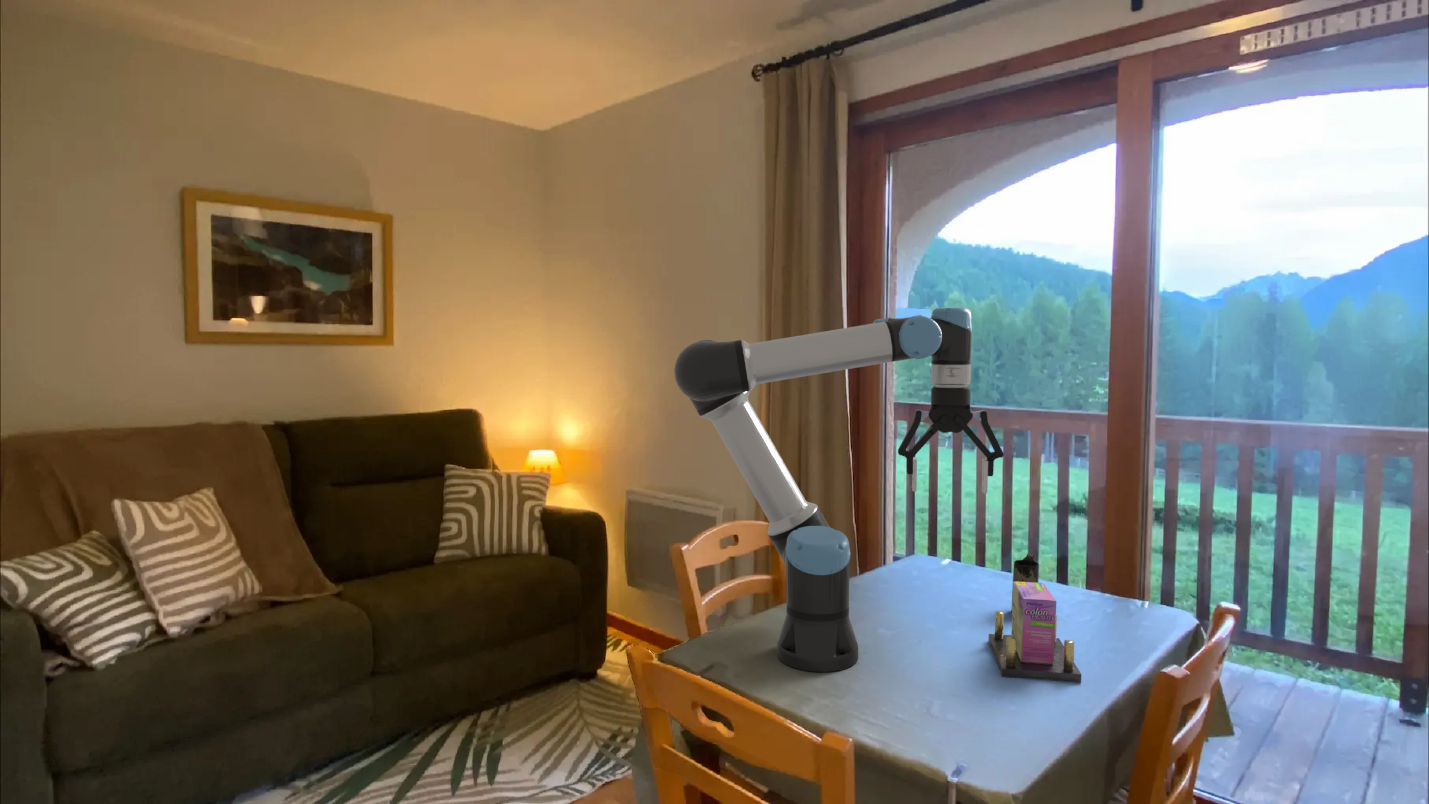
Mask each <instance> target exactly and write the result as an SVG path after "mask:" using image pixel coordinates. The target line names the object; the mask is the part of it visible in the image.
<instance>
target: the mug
mask: <svg viewBox="0 0 1429 804" xmlns="http://www.w3.org/2000/svg"><path fill="white" fill-rule="evenodd" d="M1039 566H1040V564H1039V562H1037V561H1035V555H1034V554H1029V553H1028V554H1026V555H1025V557H1024V558H1023V559H1017V560H1014V561H1013V571H1012V573H1013V574H1012V583H1013V582H1035V583H1039V570H1040V567H1039ZM1011 591H1012V594H1011V603H1012V602H1013V587H1012V590H1011Z"/></svg>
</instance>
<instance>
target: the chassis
mask: <svg viewBox="0 0 1429 804" xmlns="http://www.w3.org/2000/svg"><path fill="white" fill-rule="evenodd" d="M1057 620H1058V616H1057V614H1056V621H1055V641H1054V664H1036V663H1025V662H1021V660H1020V658H1019V656H1018V654H1017V651H1016V638H1015V637H1012V636H1011V634H1004V629H1005V628H1004V626H1005V625H1004V623H1005V612H1003V611H1001V610H996V611H994V633H988V637H987V638H988V644H989V647H990V649H991V651H992V654H993V657H994V660H995V662H996V665H997V667H998V670H999V672H1000V676H1001V677H1002V678H1011V679H1013V678H1014V679H1026V680H1039V681H1040V680H1041V681H1051V682H1052V681H1054V682H1055V681H1056V682H1067V683H1078V684H1079V683H1082V673H1081V671H1080V669H1079V668H1078V667H1077V665H1076V663H1075V641H1073V640H1071V639H1065V640H1064V641H1063V642H1064V643H1063V642H1062V640H1061V639H1060V638H1059V637H1057V625H1058V623H1057Z"/></svg>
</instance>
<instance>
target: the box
mask: <svg viewBox="0 0 1429 804" xmlns="http://www.w3.org/2000/svg"><path fill="white" fill-rule="evenodd" d="M1012 588H1013V602H1012V601H1011V634H1010V635H1011V636H1012V637H1015V638H1016V651H1017V654H1018V656H1019V658H1020V660H1021V662H1025V663H1036V664H1054V641H1055V621H1056V615H1057V600H1056V599H1055V597H1054V596H1053V595H1052V593H1051V592H1050V590H1049V589H1048V587H1047V586H1046V584H1045V583H1043V582H1038V583H1035V582H1013V581H1012Z"/></svg>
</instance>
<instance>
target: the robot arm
mask: <svg viewBox="0 0 1429 804" xmlns="http://www.w3.org/2000/svg"><path fill="white" fill-rule="evenodd" d="M972 323H973V322H972V312H971V311H970V309H968V308H966V307H942V308H940V307H939V308H938V307H937V308H934V309H933V310H932V313H931V317H928V316H924V315H913V316H910V317H903V318H902V317H900V318H898V317H897V318H895V317H894V318H890V317H887V318H876V319H875V320H874V321H872V323H868V324H861V325H856V326H849V327H844V328H838V329H831V330H827V331H819V332H813V333H808V334H803V335H795V336H790V337H789V336H788V337H783V338H778V339H772V340H765V341H760V342H758V341H757V342H753V343H749V342H747V341H745V340H744V339H738V340H731V341H716V340H712V339H702V340H698V341H695V342H692V343H691V344H689V345H687V346H686V347H685V348H684V349H682V351H680V353H679V354H678V356H677V358H676V361H675V363H674V368H673V370H674V371H673V374H674V379H675V382H676V385H677V386H678V388H679V390H680V391H681V392H682V393H683V394H684V395H685V396H686V397H687V398H689V399H690V402H691V404H692V405H693V406H694V408H695V410H696V412H697V413H698V415H699V417H700V418H701V419H705V420H709V421H711V423H712V425H713V426H714V428H715V430H716V432H717V434H718V435H719V437H720V439H721V440H722V442H723V444H724V446H725V448H726V449H727V451H728V452H729V454H730V456H731V458H732V460H733V461H734V463H735V465H736V466H737V468H738V470H739V472H740V473H741V476H742V477H743V479H744V480H745V482H746V483H747V485H748V487H749V488H750V491H751V493H752V494H753V496H754V498H755V499H756V501H757V503H758V504H759V506H760V508H761V510H762V511H763V513H764V514H765V516H766V518H767V521H768V522H769V524H768V527H767V531H766V533H767V535H768V538H769V539H770V540H771V542H772V545H774V547H775V550H776V552H778V554H779V556H780V557H781V559H782V562H783V564H784V569H785V573H786V574H785V576H786V614H785V618H784V620H783V623H782V626H781V630H780V633H779V636H778V639H777V643H776V656H777V659H778V660H780V662H781V663H783V664H785V665H786V666H788V667H792V668H794V669H797V670H801V671H807V672H817V673H819V672H820V673H822V672H823V673H824V672H837V671H842V670H845V669H848V668H851V667H852V666H854V665H855V664H856V663H857V662H858V661H859V645H858V642H857V638H856V635H855V631H854V628H853V625H852V623H851V619H850V560H851V555H852V554H851V549H850V543H849V542H850V541H849V539H848V537H847V536H846V534H844V532H842V531H841V530H838V529H834V528H832V527H831V526H830V525H829V523H828V522H827V520H826V518H825V516H824V514H823V513H822V511H821V509H820V508H819V506H818V505H817V503H814V502H809V501H807V500H806V499H805V496H804V495H803V493H802V492H801V490H800V488H799V486H798V485H797V482H796V481H795V479H794V477H793V476H792V474H791V472H790V470H789V469H788V467H787V466H786V463H785V462H784V460H783V457H782V456H781V454H780V453H779V452H778V450H777V448H776V446H775V444H774V442H773V440H772V439H771V437H770V435H769V434H768V432H767V430H766V428H765V427H764V425H763V423H762V421H761V419H760V418H759V416H758V414H757V412H756V411H755V409H754V408H753V406H752V404H751V402H750V400H749V396H750V393H751V392H752V390H753V389H754V387H756V385H760V384H767V383H773V382H779V381H785V380H791V379H796V378H802V377H803V378H804V377H807V376H815V375H821V374H825V373H834V372H839V371H844V370H850V369H855V368H862V367H868V366H874V365H881V364H886V363H892V362H899V361H906V360H912V359H916V360H920V359H926V358H928V357H931V378H930V379H931V380H930V381H931V384H932V385H933V386H932V388H930V391H931V393H930V409H929V411H928V410H927V411H926V410H921V409H915V410H914V416H913V421H912V422H911V424H910V427H909V428H908V430H907V432H906V433H905V436H904V438H903V440H902V442H901V443H900V445H899V447H898V450H897V453H898V455H899V456H902V457H904V458H906V473H907V475H912V476H911V478H912V479H911V491H912V492H916V493H917V489H918V488H917V484H918V483H917V481H918V477H917V476H918V472H917V471H918V459H917V457H916V455H917V454H918V453H919V452H920V450H921V449H922V448H923V447H924V446H925V445H926V444H927V443H928V441H929V440H930V439H932V437H933V436H934V435H935V434H936V433H937V432H938V431H939V432H941V433H942V434H945V433H946V434H948V433H954V434H958V433H961V432H962V431H963V432H964V433H965V434H966V435H967V437H968V438H969V439H970V440H971V441H972V442H973V444H974V445H975V446H976V447H977V448H978V450H980V452H981V453H982V454H983V456H985V458H982V459H981V492H982V494H985V495H987V494H988V484H989V483H988V481H989V478H988V477H993V475H994V470H995V469H994V467H995V465H994V462H995V460H997V459H999V458H1003V457H1004V456H1005V454H1004V452H1003V450H1002V447H1001V445H1000V443H999V441H998V440H997V437H996V435H995V434H994V431H993V430H992V427H991V426H990V423H989V421H988V413H987V411H986V410H984V409H980V410H978V411H972V408H971V388H970V387H969V386H968V385H970V384H971V378H972V375H971V374H972V372H971V371H972V369H971V368H972V367H971V365H972V363H971V362H972V361H971V359H972V337H973V336H972V334H973V324H972ZM926 418H929V420H930V421H931V422H932V424H931V425H930V426H929V428H928V429H927V430H926V431H925V432H924V433H923V434H922V436H920V438H919V439H918V440H917V441H916V442H915V444H913V445H912V446H911V448H910V449H909V450H907V449H908V447H909V445H910V444H911V441H912V439H913V438H914V436H915V434H916V432H917V430H918V428H919V426H920V425H921V422H923V421H925V420H926ZM973 418H974V419H975V420H976V422H978V423H980V426H981V427H982V429H983V431H984V433H985V435H986V438H987V439H988V441H989V443H990V445H991V447H992V450H993V451H990V450H989V449H988V447H987V446H986V445H985V444H984V443H983V442H982V440H981V439H980V437H978V436H977V435H976V434H975V433H974V431H973V430H972V429H971V427H969V425H968V424H969V423H971V422H970V421H971V420H972V419H973Z"/></svg>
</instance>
